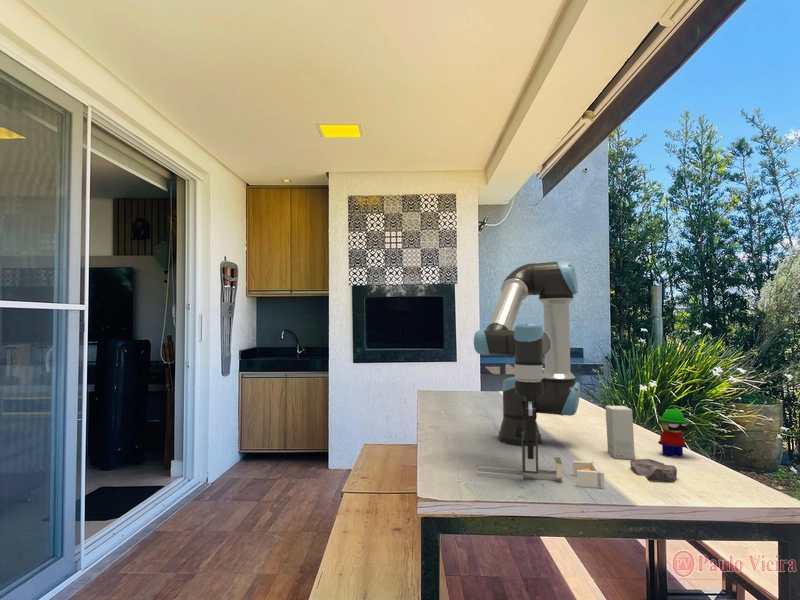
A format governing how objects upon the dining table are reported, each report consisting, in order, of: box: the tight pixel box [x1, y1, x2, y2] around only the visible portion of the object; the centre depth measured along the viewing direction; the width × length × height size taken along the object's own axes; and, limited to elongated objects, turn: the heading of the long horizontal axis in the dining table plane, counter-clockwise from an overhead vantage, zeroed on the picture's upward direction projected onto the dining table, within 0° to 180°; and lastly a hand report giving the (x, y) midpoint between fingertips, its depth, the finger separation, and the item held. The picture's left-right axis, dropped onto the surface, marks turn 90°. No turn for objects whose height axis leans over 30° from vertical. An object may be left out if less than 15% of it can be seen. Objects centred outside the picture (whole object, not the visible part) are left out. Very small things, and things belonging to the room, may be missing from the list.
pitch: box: [476, 466, 524, 480], centre depth 122 cm, size 34×14×2 cm, turn 77°
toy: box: [657, 408, 691, 458], centre depth 147 cm, size 9×9×15 cm
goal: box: [571, 460, 605, 489], centre depth 119 cm, size 6×10×4 cm, turn 166°
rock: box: [629, 458, 678, 482], centre depth 126 cm, size 8×11×5 cm
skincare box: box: [605, 405, 636, 460], centre depth 147 cm, size 8×7×16 cm
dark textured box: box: [521, 431, 564, 482], centre depth 122 cm, size 10×6×12 cm, turn 77°
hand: (530, 467), depth 122 cm, fingers closed on dark textured box, 4 cm apart
